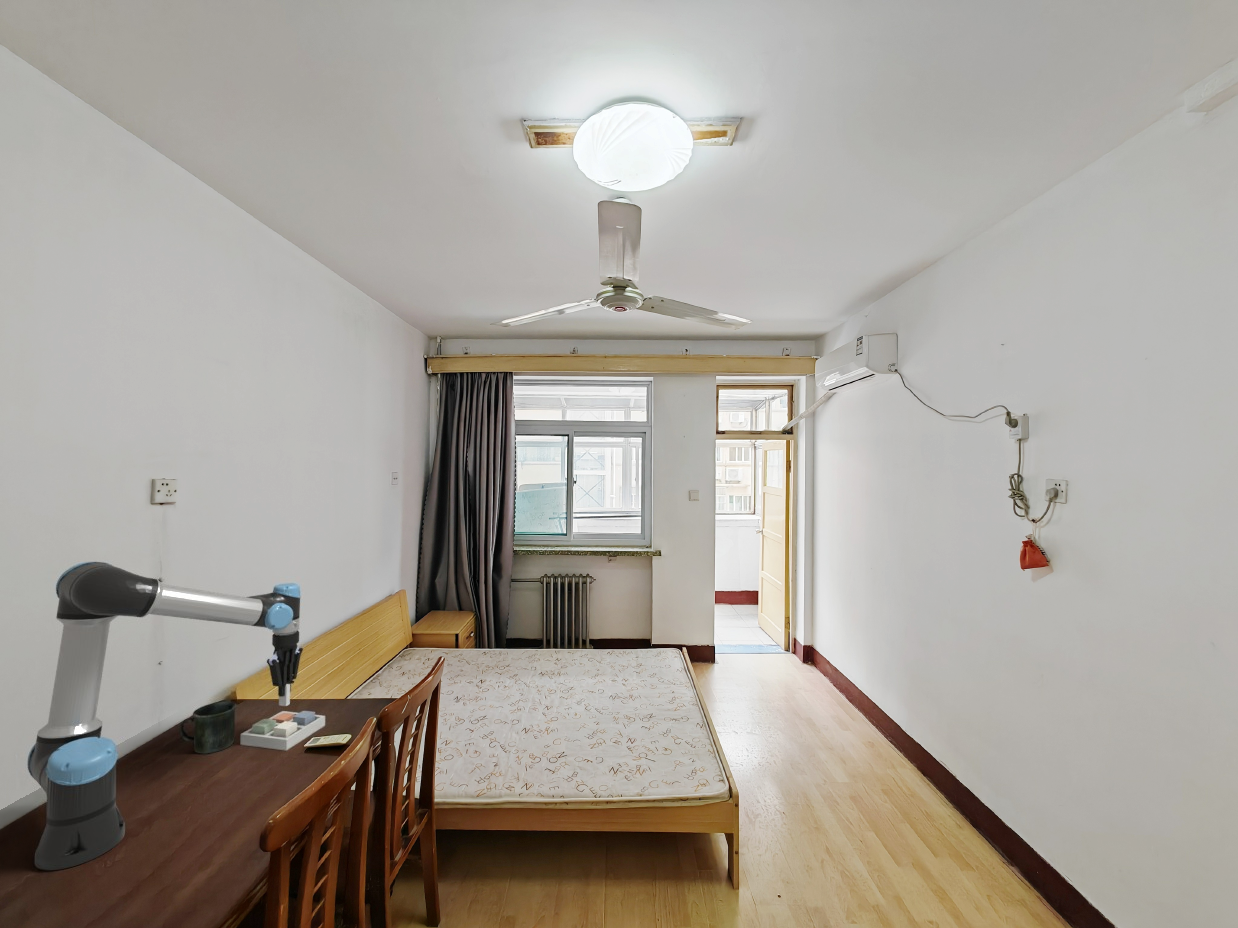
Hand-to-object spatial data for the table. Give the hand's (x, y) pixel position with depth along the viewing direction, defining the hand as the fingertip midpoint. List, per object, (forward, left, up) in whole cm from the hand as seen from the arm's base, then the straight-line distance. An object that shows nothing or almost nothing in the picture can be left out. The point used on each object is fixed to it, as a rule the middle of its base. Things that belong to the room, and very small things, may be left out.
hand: (284, 704), depth 179 cm
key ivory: (0, -1, -10) cm, 10 cm away
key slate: (+8, -1, -10) cm, 12 cm away
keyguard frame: (+4, +3, -12) cm, 13 cm away
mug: (-8, +20, -12) cm, 25 cm away
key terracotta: (+8, +7, -11) cm, 15 cm away
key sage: (0, +7, -10) cm, 12 cm away
